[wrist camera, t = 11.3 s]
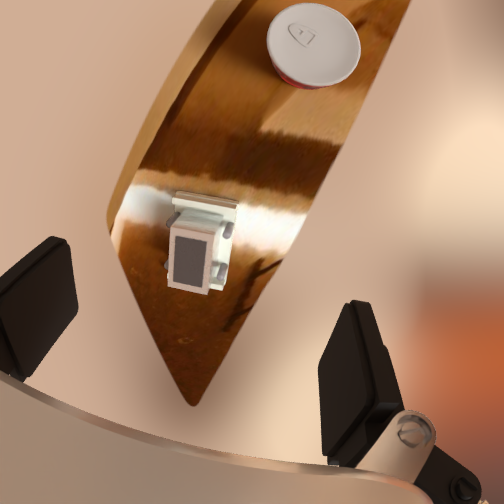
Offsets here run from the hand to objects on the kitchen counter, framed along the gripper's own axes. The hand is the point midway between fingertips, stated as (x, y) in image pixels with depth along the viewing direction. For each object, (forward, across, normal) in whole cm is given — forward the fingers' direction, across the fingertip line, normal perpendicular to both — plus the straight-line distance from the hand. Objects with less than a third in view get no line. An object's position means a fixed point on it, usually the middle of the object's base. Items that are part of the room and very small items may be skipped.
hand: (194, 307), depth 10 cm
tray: (+30, +6, +13) cm, 33 cm away
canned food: (+31, -3, -12) cm, 33 cm away
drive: (+29, +6, +13) cm, 32 cm away
